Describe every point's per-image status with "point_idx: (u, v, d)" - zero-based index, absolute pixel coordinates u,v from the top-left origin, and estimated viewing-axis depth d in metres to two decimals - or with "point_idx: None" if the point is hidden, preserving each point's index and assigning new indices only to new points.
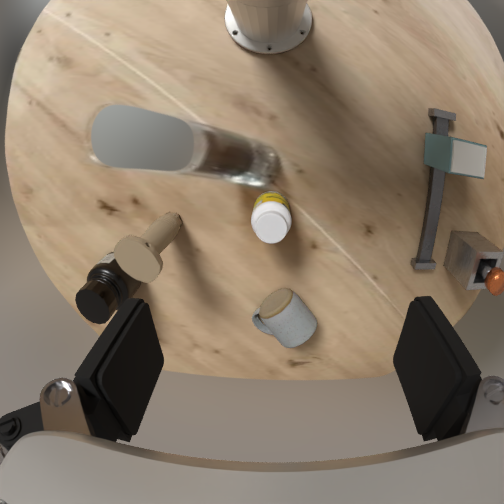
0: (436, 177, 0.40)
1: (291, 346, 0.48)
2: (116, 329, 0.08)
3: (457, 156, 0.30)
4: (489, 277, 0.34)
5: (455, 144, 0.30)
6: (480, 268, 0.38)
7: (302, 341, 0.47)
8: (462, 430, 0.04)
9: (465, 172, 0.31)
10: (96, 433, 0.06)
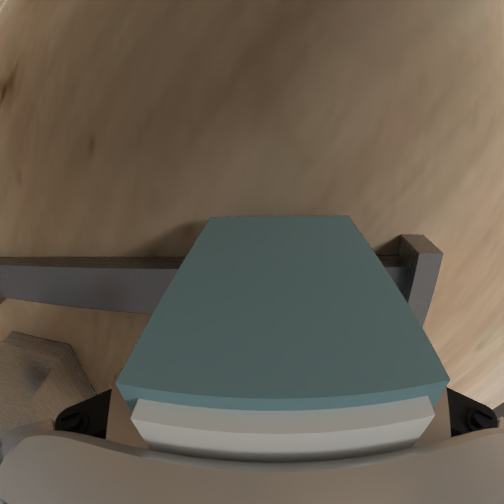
0: None
1: None
2: None
3: (286, 456, 0.04)
4: None
5: (394, 429, 0.03)
6: None
7: None
8: None
9: None
10: None
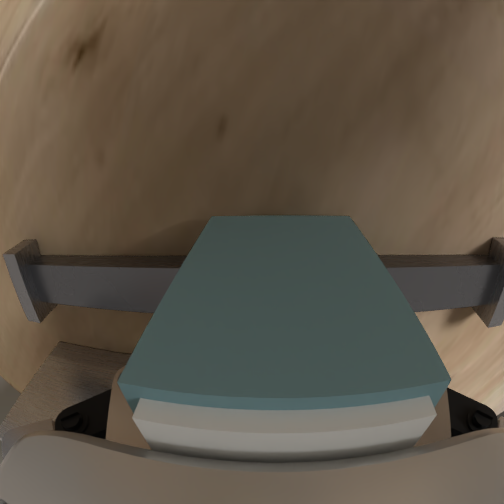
0: None
1: None
2: None
3: (288, 455, 0.04)
4: None
5: (396, 428, 0.03)
6: None
7: None
8: None
9: None
10: None
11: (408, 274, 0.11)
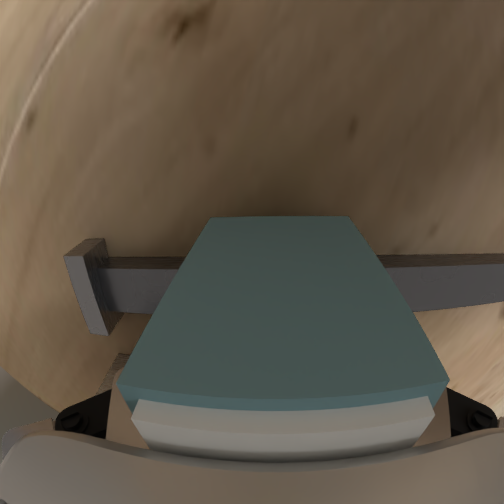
0: (425, 282, 0.12)
1: None
2: None
3: (286, 456, 0.04)
4: None
5: (394, 429, 0.03)
6: None
7: None
8: None
9: None
10: None
11: (490, 270, 0.11)
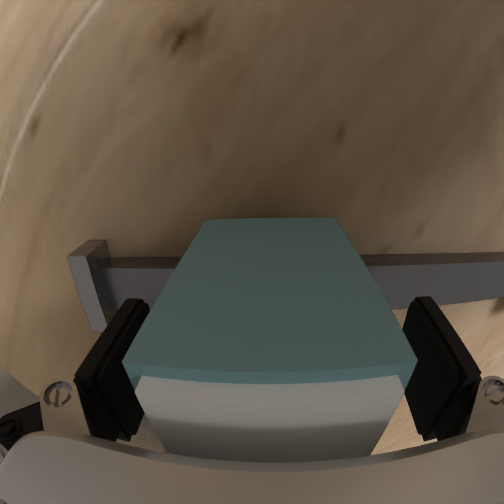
0: (412, 279, 0.12)
1: None
2: (116, 329, 0.08)
3: (271, 427, 0.04)
4: None
5: (367, 403, 0.04)
6: None
7: None
8: (462, 430, 0.04)
9: None
10: (96, 433, 0.06)
11: (476, 268, 0.12)
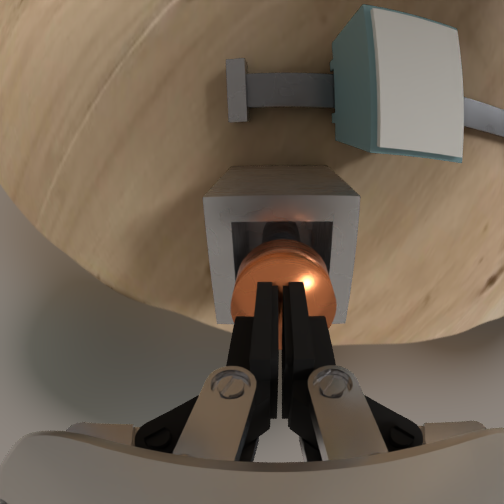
0: None
1: None
2: (267, 310, 0.09)
3: (421, 32, 0.08)
4: (299, 250, 0.11)
5: (447, 32, 0.08)
6: (288, 234, 0.15)
7: None
8: (319, 440, 0.05)
9: (383, 59, 0.09)
10: (246, 434, 0.06)
11: (484, 107, 0.16)
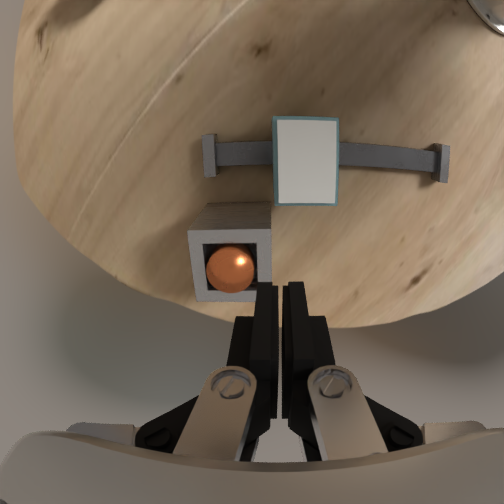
0: (359, 150, 0.28)
1: None
2: (267, 310, 0.09)
3: (307, 129, 0.20)
4: (237, 245, 0.25)
5: (328, 124, 0.20)
6: None
7: None
8: (318, 440, 0.05)
9: (281, 152, 0.21)
10: (246, 434, 0.06)
11: (394, 149, 0.28)
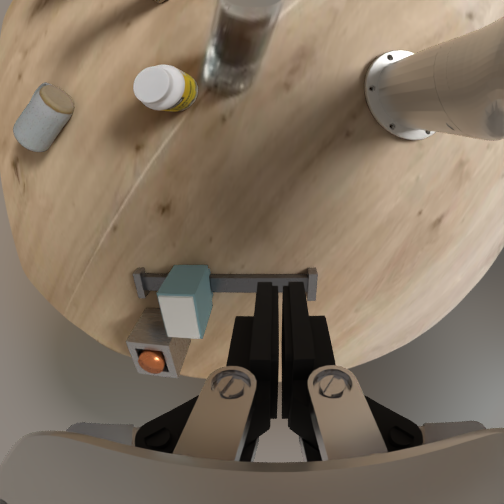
0: (238, 282, 0.43)
1: (14, 130, 0.29)
2: (267, 310, 0.09)
3: (176, 302, 0.35)
4: (153, 350, 0.40)
5: (187, 299, 0.35)
6: None
7: (19, 139, 0.29)
8: (318, 440, 0.05)
9: (163, 313, 0.36)
10: (246, 434, 0.06)
11: (267, 280, 0.42)
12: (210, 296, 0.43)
